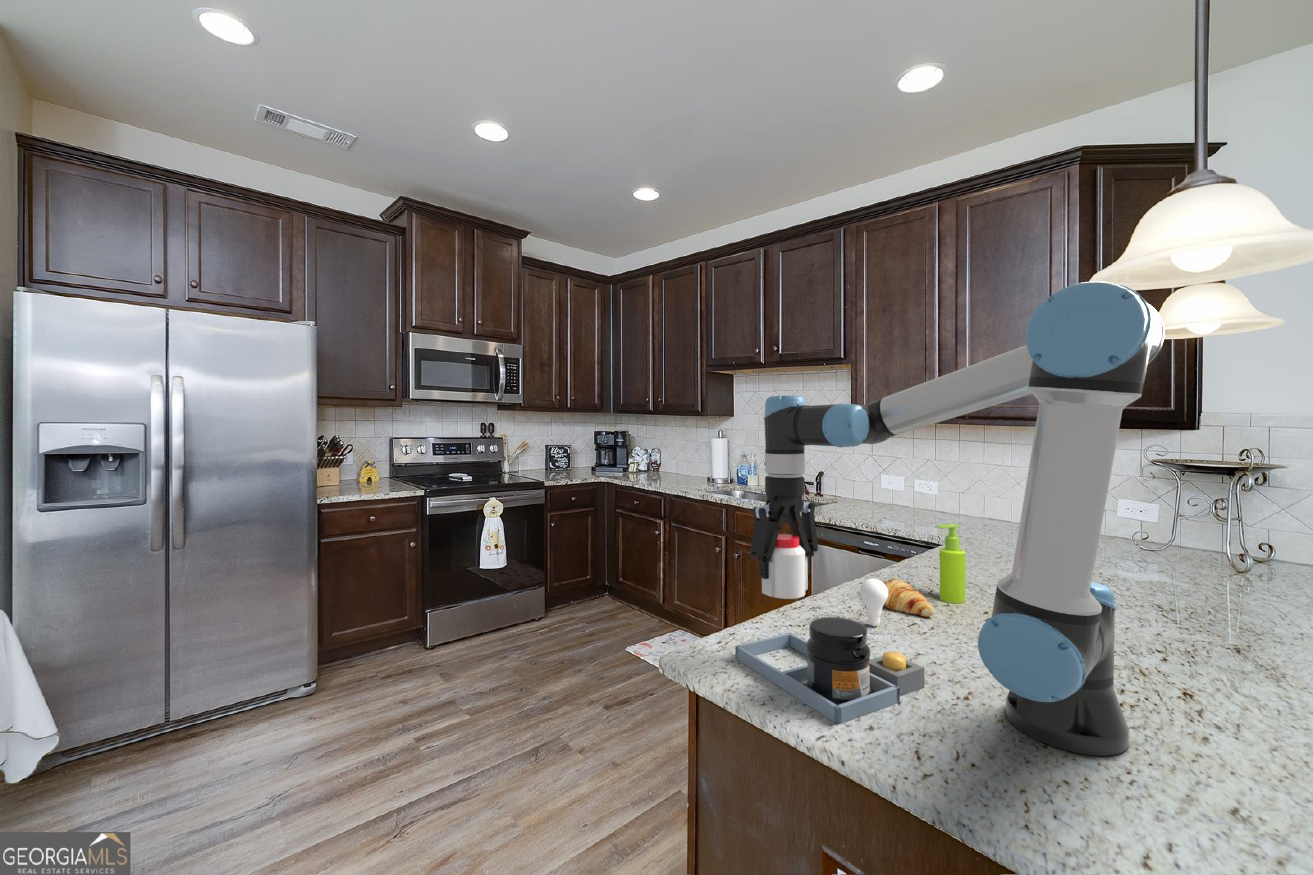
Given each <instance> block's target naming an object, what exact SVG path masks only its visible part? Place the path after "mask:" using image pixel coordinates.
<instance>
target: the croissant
mask: <svg viewBox="0 0 1313 875" xmlns="http://www.w3.org/2000/svg"><path fill="white" fill-rule="evenodd" d="M882 582H883V583H884V584H885V585H886V587H887V589H888V598H887V600H886V602H885V603H884V605H883V607H885V608H887V609H889V610H892V611H897V612H902V613H906V614H911V615H918V616H921V617H932V616H933V615H934V614H935V610H934V607H933V605H932V604H931V602H929V601H928V600H927V599H926V597H925V596H924V595H923V593H922V592H920V591H918V590H914V588H913V587H912V586H911V585H910V584H909V583H908V582H904V581H903V580H900V579H896V578H892V579H889V580H887V581H882Z"/></svg>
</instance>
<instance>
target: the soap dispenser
mask: <svg viewBox="0 0 1313 875" xmlns="http://www.w3.org/2000/svg"><path fill="white" fill-rule="evenodd" d="M935 527H936V528H938V529H941V530H943V529H948V535H946V536H945V537H944V544H945V545H944V548H943V547H942V548H940V549H939V600H940V601H942V602H944V603H949V604H957V605H959V604H960V605H961V604H964V603H966V551H964V550H963V549H960V548H961V544H960V543H961V541H960V540H961V538H960V537H959V536H957V529H960V527H961V526H960V525H958V524H955V523H945V524H939V525H936V526H935Z"/></svg>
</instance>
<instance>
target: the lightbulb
mask: <svg viewBox="0 0 1313 875" xmlns="http://www.w3.org/2000/svg"><path fill="white" fill-rule="evenodd" d="M883 582H884V581H881V580H880V579H877V578H868V579H866V580H864V581H863V582H862V583H861V585H860V587H859V595H860V598H861V599H862V602H864V606H865V608H866V609H865V610H866V614H867V623H868V624H869V625H871V626H872V627H877V626H880V624H881V623H880V622H881V616H882V611H883V608H884V606H883V605H884V603H885V602H886V600H887V598H888V589H887V587H886V585H885V584H884V583H883Z"/></svg>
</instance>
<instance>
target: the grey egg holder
mask: <svg viewBox="0 0 1313 875" xmlns="http://www.w3.org/2000/svg"><path fill="white" fill-rule="evenodd" d="M870 673H872V674H874V675H876V676H878V677H880V678H882V679H884V680H886V681H888V682H890V683H892V684H894V685H896V686H898V687H900V697H901V696H904V695H907V694H909V693H912V692H914V691H918V690H920V689H924V688H925V667H924V666H921V665H919V664H916V663H914V662H912V661H910V660H908V659H906V669H904V670H901V671H898V672H895V671H893V670H891V669H889V668H887V667H885V666H883V655H880V656H877V657H873V658H871V659H870Z"/></svg>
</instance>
